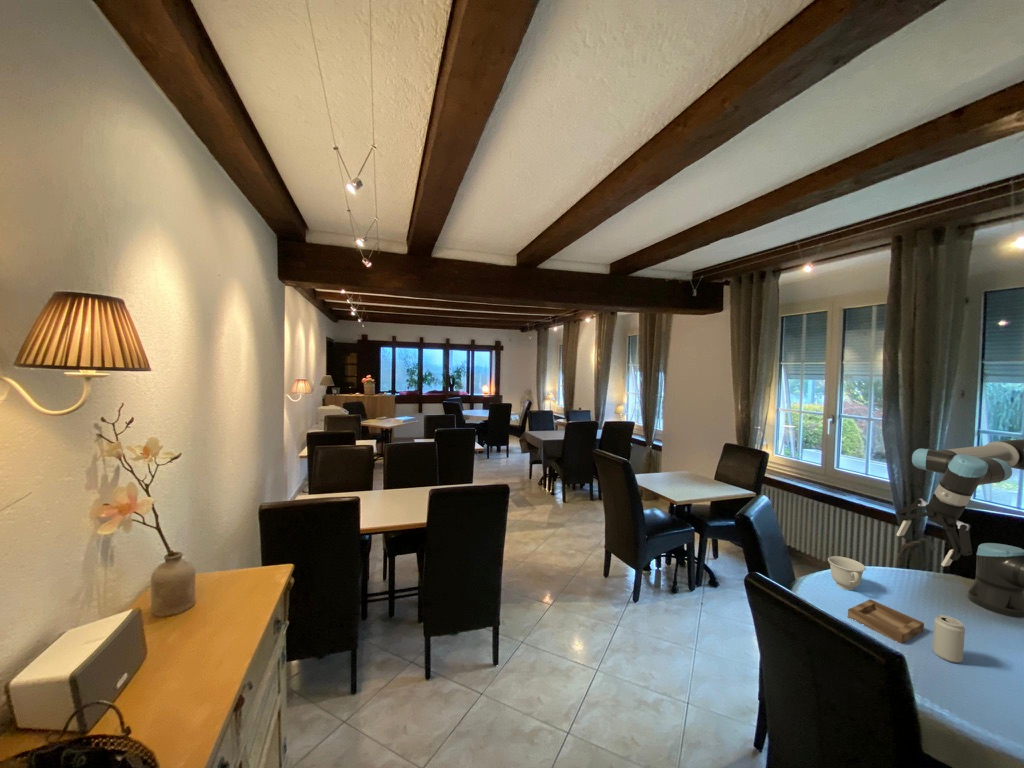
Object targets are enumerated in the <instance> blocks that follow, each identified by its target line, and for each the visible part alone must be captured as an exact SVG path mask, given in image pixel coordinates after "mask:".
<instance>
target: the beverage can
mask: <svg viewBox="0 0 1024 768" xmlns="http://www.w3.org/2000/svg"><path fill="white" fill-rule="evenodd" d="M933 623H934V625H933V638H932V652H934V653H935V655H936V656H938V658H941V659H943V660H945V661H948V662H950V663H955V664H956V663H957V664H958V663H962V662H963V660H964V659H963V658H964V647H965V645H964V644H965V634H966V632H965V631H966V629H965V627H964V624H963V622H961V621H960V620H958V619H956V618H955V617H953V616H952V617H951V616H949V615H945V614H937V615H936V617H935V618H934V622H933Z"/></svg>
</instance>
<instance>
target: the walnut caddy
mask: <svg viewBox="0 0 1024 768" xmlns="http://www.w3.org/2000/svg"><path fill="white" fill-rule="evenodd" d="M847 618H848V619H850V618H851V619H850V620H852V619H853V620H852V621H854V620H856V621H857V623H858V622H859V623H858V624H861V625H862V624H864V625H865V626H864V625H863V626H864V627H866V628H868V629H871V630H872V631H874V632H876V633H878V634H880V635H882V636H884V637H887V638H888V639H890V638H891V640H892V639H893V641H895V642H896V641H897V642H896V643H898V644H900V645H902V644H904V643H906V642H908V641H909V640H911V639H913V638H914V637H916V636H918V635H919V634H921V633H924V628H925V622H923V621H920V620H918V619H916V618H913V617H912V616H909V615H906V614H905V613H903V612H901V611H898V610H896V609H893V608H891V607H889V606H887V605H885V604H882V603H880V602H877V601H876V600H874V599H867V600H866V601H863V602H861V603H858V604H857V605H855V606H852V607H850V608H847ZM856 621H855V622H856Z"/></svg>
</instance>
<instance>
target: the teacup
mask: <svg viewBox="0 0 1024 768" xmlns="http://www.w3.org/2000/svg"><path fill="white" fill-rule="evenodd" d="M827 561H828V562H829V566H830V575H831V578H832V579H833V581H834V582H836V583H835V584H836V586H837V587H838V588H841V589H843V590H847V591H854V590H855V588H856V587H858V586H860V584H861V581H862V577H863V574H864V571H866V570H867V569H866V568H867V567H866V566H865V565H864V564H863V563H861V562H859V561H857V560H855V559H853V558H849V557H844V556H839V555H832V556H829V557H828V558H827Z"/></svg>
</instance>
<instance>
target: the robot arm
mask: <svg viewBox="0 0 1024 768" xmlns="http://www.w3.org/2000/svg"><path fill="white" fill-rule="evenodd" d="M911 463H912V465H913V466H914V467H916V468H917V469H920V470H925V471H926V472H934V473H937V474H941V475H942V477H941V479H940V481H939V483H938V485H937V486H936V489H935V491H934V493H933V494H932V496H931V498H930V500H929V501H928V502H926V500H925V499H924V498H923V497H922V498H917V499H915V500H914V502H913V503H911V504H909V505H907V506H906V507H903V508H901V509H899V510H897V511H896V512H895V514H896V515H897V516H900V519H899V522H898V524H897V525H898V526H899V529H898V531H897V532H896V534H895V535H896V536H897V537H901V536H905V535H906V532H907V531H908V529H909V527H910V525H911V523H912V520H911V519H917V518H925V517H927V518H929V519H928V520H930V521H931V522H934V523H936V524H937V525H938V526H940V527H941V526H942V528H943V530H944V531H945V533H946V535H947V537H948V540H949V542H950V546H951V547H952V549H950V550H949V551H948V552H947V554H946V555H945V557H944V559H943V560H942V562H941V564H940V565H941V566H943V567H947V566H948V567H949V566H950V565H951V564H952V562H953V561H958V560H959V559H960V558H961V556H963V557H967V556H970V555H973V550H972V543H971V535H970V530H971V527H972V525H971V524H970V523H966V522H965V523H964V522H963V521H960V517H961V516H962V513H963V512H964V510H966V509H965V508H966V506H967V505H968V504H969V502H970V500H971V498H972V497H973V495H974V493H975V491H977V490H976V489H977V488H978V486H983V485H989V484H996V483H997V484H998V483H1002V482H1005V481H1007V480H1009V479H1010V478H1012V476H1013V469H1015V470H1016V469H1017V470H1022V471H1024V439H1020V438H1019V439H1009V440H1007V439H1006V440H997V441H996V440H995V441H992V442H989V443H987V444H985V445H979V446H978V445H976V446H967V447H959V448H950V449H949V448H947V449H938V450H935V449H931V448H918V449H916V450H914V451H913V453H912V455H911ZM919 507H924V509H925V511H926V512H920V513H919V512H918V513H913V514H907V513H909V512H911V511H913V510H915V509H918V508H919ZM956 526H957V527H956ZM957 529H958V532H957ZM975 563H976V564H975V565H976V566H975V568H976V569H975V579H974V581H973V582H972V583H971V585H970V586H969V588H968V589H967V598H968V600H969V601H971V602H972V603H973V604H976V605H977V606H980V607H981V608H983V607H984V608H983V609H986V610H988V611H992V612H994V613H996V614H1001V615H1004V616H1008V617H1013V618H1020V617H1024V549H1023V548H1021V547H1018V546H1013V545H1008V544H1004V543H1003V544H1002V543H995V542H984V543H980V544H979V545H978V547H977V551H976V562H975Z"/></svg>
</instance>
